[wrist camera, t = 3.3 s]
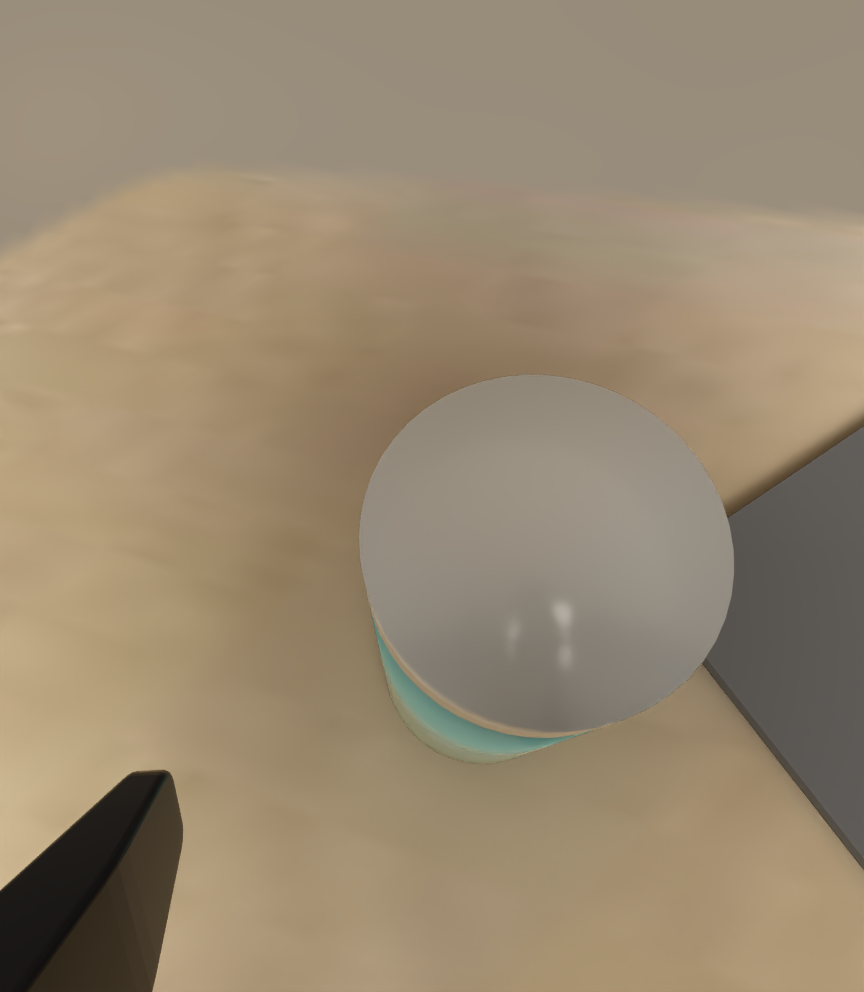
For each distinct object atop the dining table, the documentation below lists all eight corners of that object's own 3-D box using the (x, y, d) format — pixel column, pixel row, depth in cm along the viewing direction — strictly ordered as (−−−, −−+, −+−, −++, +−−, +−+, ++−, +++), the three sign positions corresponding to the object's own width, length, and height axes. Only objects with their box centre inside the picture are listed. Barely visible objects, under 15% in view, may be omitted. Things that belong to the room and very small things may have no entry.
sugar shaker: (453, 805, 17) (502, 818, 8) (349, 634, 19) (291, 481, 10) (612, 691, 18) (813, 588, 9) (502, 539, 20) (579, 321, 11)
